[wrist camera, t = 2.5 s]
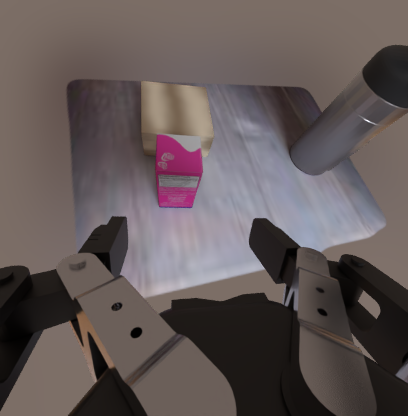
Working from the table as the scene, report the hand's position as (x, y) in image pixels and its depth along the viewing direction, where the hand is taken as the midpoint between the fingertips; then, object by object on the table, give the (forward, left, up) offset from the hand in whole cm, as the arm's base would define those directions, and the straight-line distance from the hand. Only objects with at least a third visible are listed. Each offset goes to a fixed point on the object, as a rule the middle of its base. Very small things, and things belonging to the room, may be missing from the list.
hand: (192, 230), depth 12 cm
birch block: (0, -26, -19) cm, 32 cm away
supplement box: (0, -12, -19) cm, 23 cm away
